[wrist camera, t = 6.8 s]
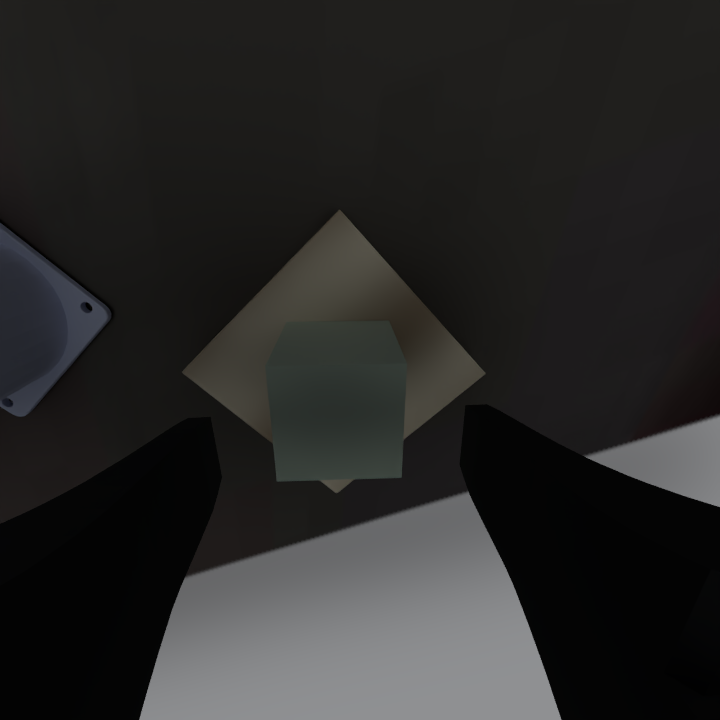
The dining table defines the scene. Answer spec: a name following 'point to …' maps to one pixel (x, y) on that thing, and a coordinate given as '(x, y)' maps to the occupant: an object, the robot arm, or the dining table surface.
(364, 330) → the sage block
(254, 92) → the dining table surface
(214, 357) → the birch block
